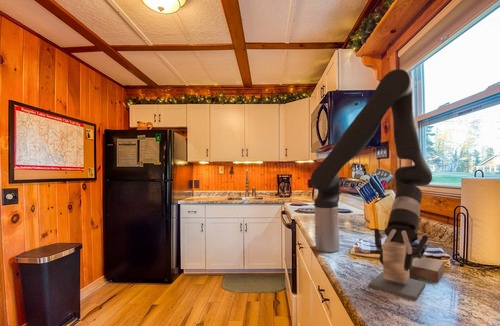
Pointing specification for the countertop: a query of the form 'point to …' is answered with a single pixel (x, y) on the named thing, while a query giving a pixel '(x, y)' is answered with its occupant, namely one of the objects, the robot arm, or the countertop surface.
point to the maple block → (395, 261)
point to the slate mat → (398, 286)
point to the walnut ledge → (427, 268)
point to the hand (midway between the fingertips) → (394, 266)
